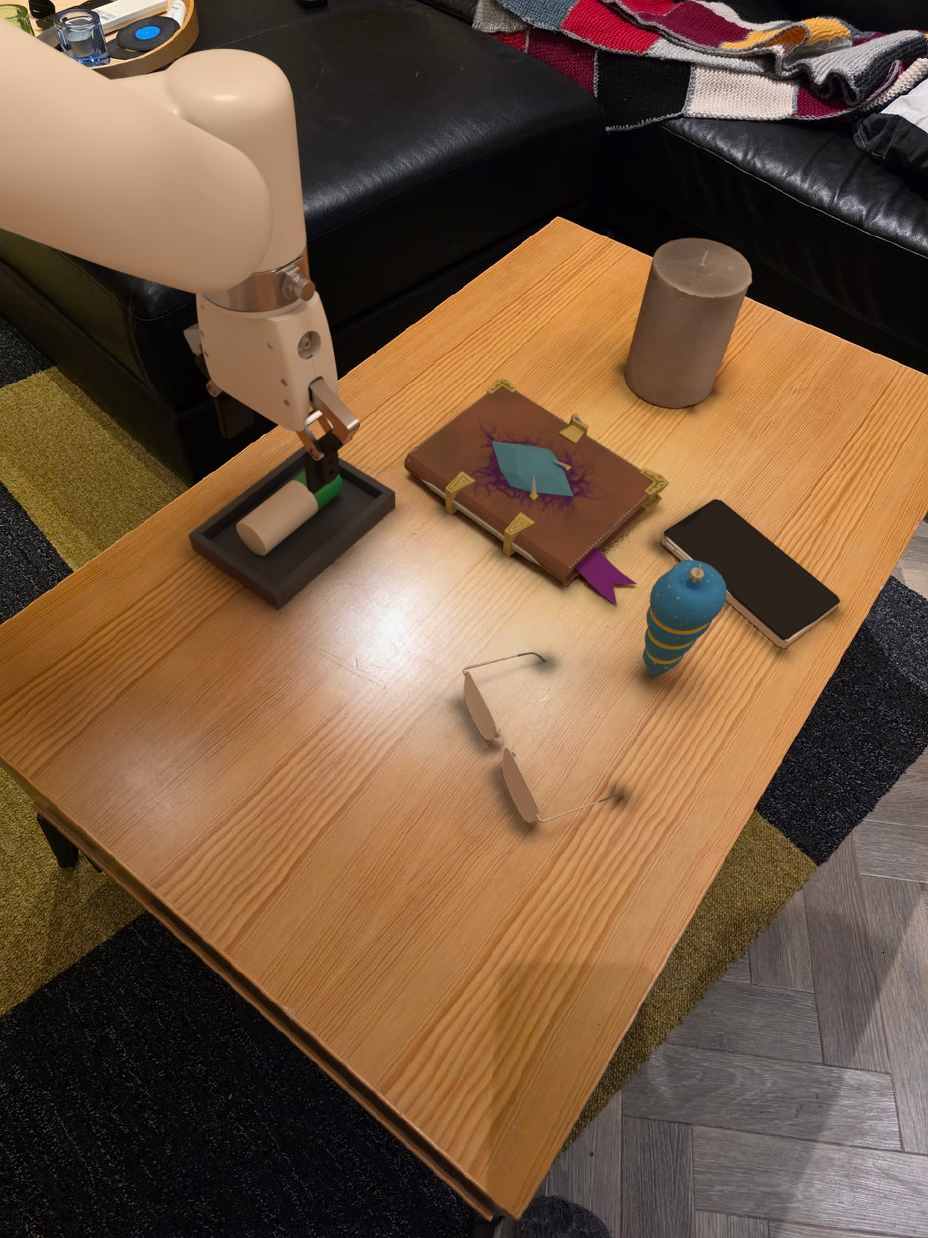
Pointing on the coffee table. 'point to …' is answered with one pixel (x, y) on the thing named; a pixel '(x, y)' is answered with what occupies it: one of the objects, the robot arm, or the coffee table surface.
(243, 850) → the coffee table surface
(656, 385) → the pillar candle
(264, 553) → the marker
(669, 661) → the ornament
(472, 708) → the eyeglasses
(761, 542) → the smartphone
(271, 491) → the tray
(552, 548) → the book
